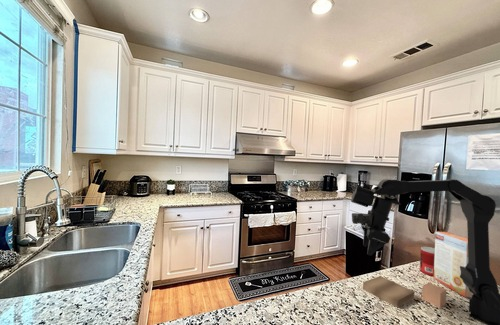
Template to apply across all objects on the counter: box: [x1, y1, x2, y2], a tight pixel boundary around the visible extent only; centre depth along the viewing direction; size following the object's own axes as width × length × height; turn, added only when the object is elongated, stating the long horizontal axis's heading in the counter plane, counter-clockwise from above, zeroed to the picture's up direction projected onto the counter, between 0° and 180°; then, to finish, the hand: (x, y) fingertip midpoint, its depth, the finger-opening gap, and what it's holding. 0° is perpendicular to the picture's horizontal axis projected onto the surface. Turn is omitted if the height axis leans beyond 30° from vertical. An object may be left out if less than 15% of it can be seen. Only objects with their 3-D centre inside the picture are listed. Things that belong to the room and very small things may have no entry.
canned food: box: [419, 246, 435, 278], centre depth 97 cm, size 8×8×11 cm
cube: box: [421, 282, 447, 308], centre depth 76 cm, size 5×5×5 cm
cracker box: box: [433, 231, 473, 299], centre depth 86 cm, size 14×6×21 cm, turn 179°
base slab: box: [362, 275, 416, 309], centre depth 79 cm, size 12×12×3 cm
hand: (366, 250), depth 79 cm, fingers open, 9 cm apart
